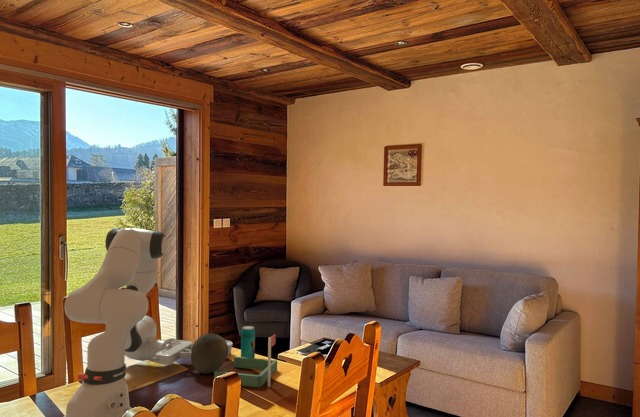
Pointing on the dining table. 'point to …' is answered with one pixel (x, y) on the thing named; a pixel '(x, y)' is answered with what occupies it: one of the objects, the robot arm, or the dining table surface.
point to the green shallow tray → (253, 363)
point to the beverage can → (248, 342)
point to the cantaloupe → (209, 353)
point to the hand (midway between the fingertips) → (193, 354)
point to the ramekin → (229, 346)
